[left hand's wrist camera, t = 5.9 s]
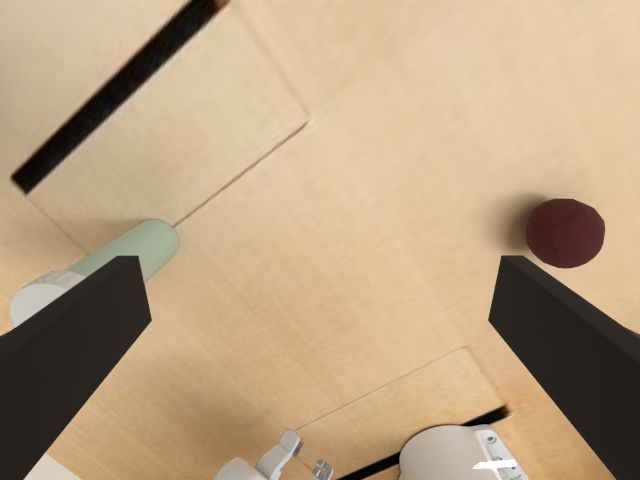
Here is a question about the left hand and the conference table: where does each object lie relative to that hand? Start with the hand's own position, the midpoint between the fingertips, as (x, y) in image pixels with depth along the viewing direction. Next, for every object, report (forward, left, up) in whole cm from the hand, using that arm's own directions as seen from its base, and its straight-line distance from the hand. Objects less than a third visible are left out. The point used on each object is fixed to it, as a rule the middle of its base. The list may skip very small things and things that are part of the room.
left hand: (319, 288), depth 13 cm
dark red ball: (+6, +27, -28) cm, 39 cm away
